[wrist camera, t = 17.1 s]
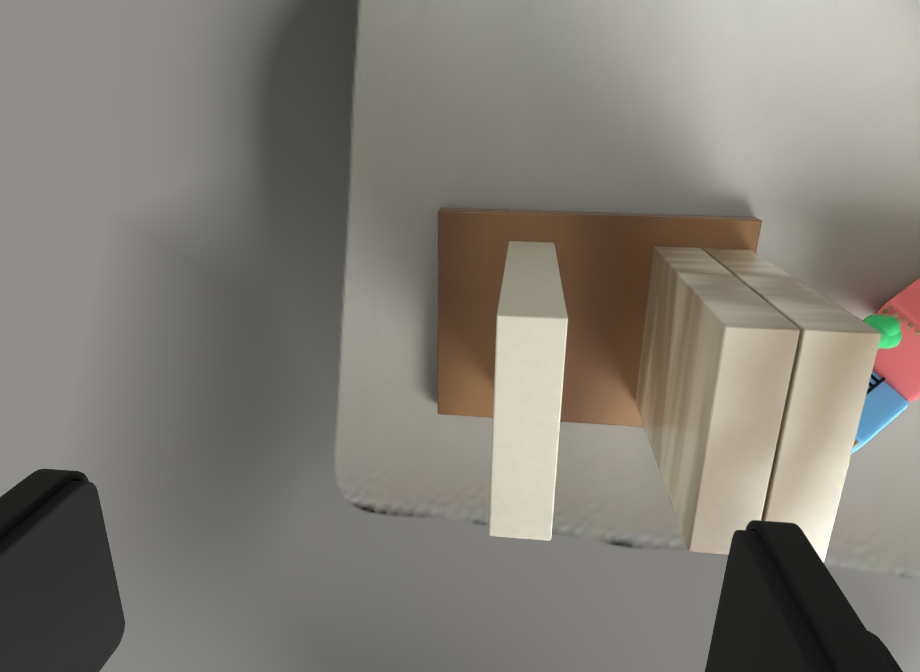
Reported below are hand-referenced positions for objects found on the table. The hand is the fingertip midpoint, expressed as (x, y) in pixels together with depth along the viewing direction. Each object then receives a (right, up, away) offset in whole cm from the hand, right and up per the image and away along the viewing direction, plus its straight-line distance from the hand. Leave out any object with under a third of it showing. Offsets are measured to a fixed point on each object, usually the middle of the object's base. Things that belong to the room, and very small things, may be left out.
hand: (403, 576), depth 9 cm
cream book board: (+8, +4, +26) cm, 28 cm away
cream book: (+5, +4, +26) cm, 27 cm away
